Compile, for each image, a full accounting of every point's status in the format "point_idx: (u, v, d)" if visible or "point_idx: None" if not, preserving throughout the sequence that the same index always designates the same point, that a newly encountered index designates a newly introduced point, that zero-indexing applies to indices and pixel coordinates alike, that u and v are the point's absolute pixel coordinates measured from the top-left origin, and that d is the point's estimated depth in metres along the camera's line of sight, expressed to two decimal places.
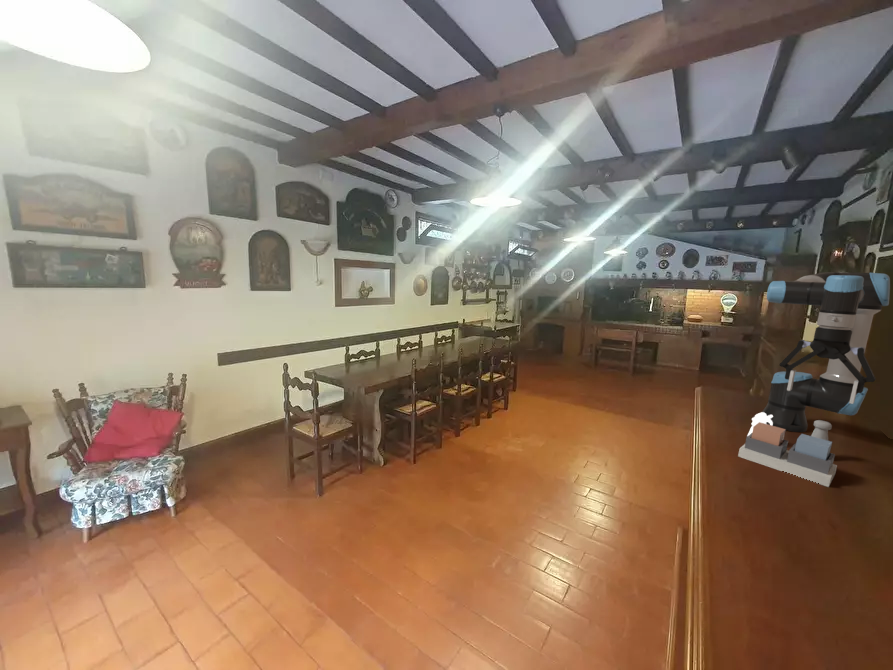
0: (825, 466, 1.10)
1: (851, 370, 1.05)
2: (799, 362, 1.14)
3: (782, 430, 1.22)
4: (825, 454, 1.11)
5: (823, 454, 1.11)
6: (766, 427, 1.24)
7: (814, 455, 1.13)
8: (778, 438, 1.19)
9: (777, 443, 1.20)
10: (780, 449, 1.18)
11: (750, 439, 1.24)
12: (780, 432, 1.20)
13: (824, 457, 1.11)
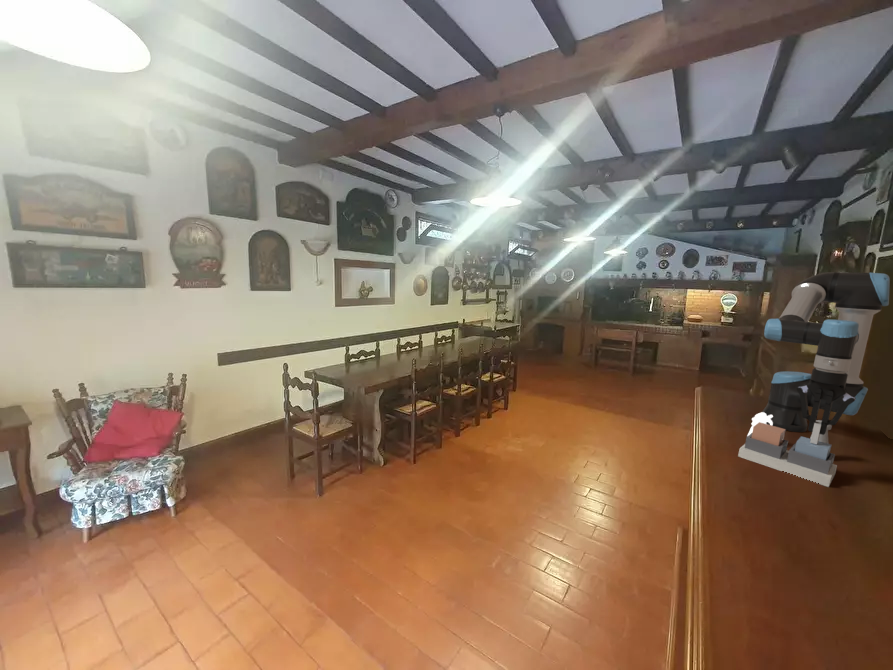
0: (825, 466, 1.10)
1: (825, 412, 1.12)
2: (815, 411, 1.13)
3: (782, 430, 1.22)
4: (824, 457, 1.11)
5: (823, 457, 1.11)
6: (766, 427, 1.24)
7: None
8: (778, 438, 1.19)
9: (777, 443, 1.20)
10: (780, 449, 1.18)
11: (750, 439, 1.24)
12: (780, 432, 1.20)
13: None
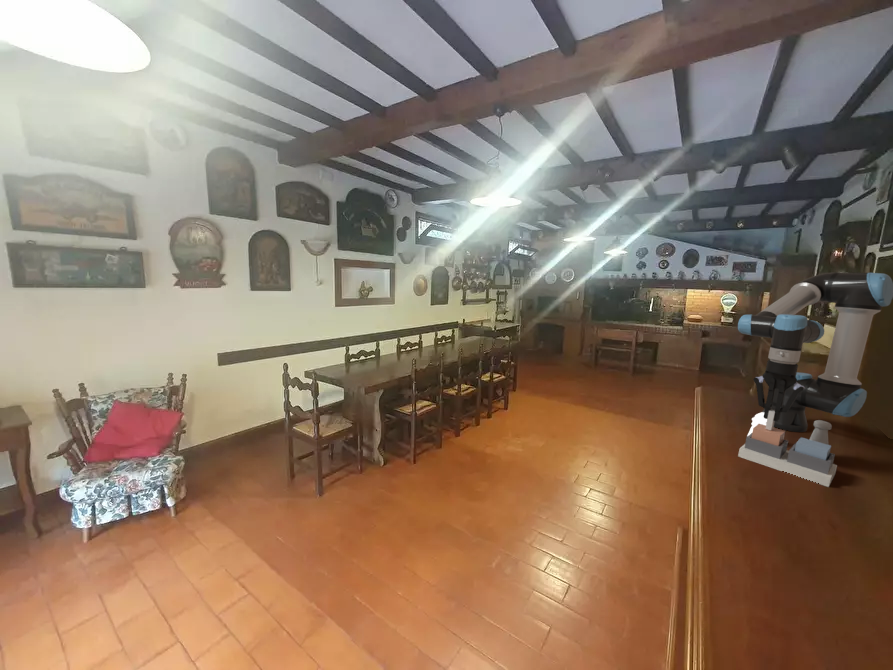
0: (825, 466, 1.10)
1: (778, 400, 1.20)
2: (769, 399, 1.22)
3: (782, 431, 1.22)
4: (824, 458, 1.11)
5: (822, 458, 1.11)
6: (766, 429, 1.24)
7: None
8: (778, 440, 1.19)
9: (777, 445, 1.20)
10: (780, 449, 1.18)
11: (750, 439, 1.24)
12: (780, 434, 1.20)
13: None
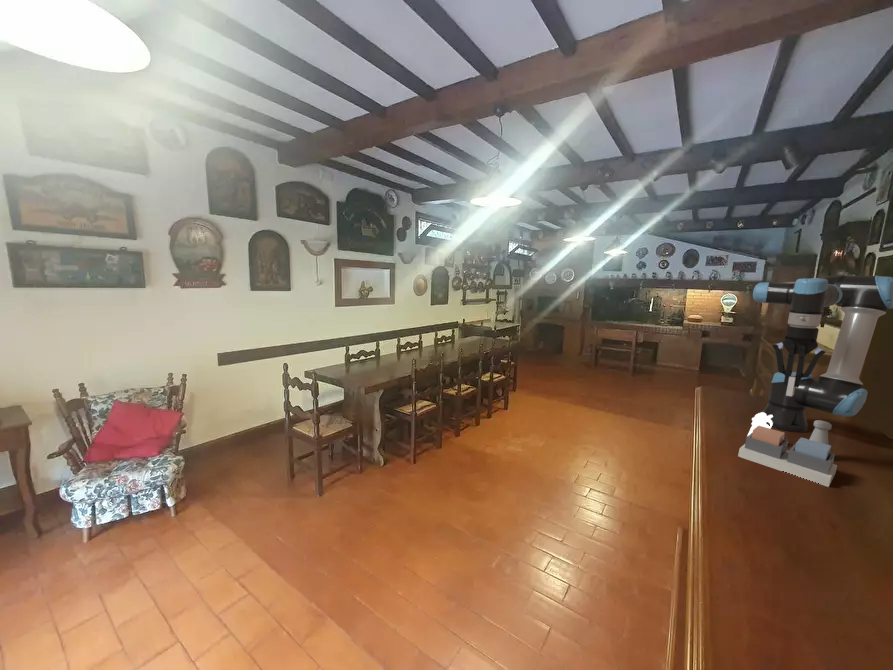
0: (825, 466, 1.10)
1: (798, 366, 1.19)
2: (789, 365, 1.21)
3: (781, 434, 1.22)
4: (824, 458, 1.11)
5: (822, 458, 1.11)
6: (765, 431, 1.24)
7: None
8: (777, 442, 1.19)
9: None
10: (780, 449, 1.18)
11: (750, 439, 1.24)
12: (779, 436, 1.20)
13: None
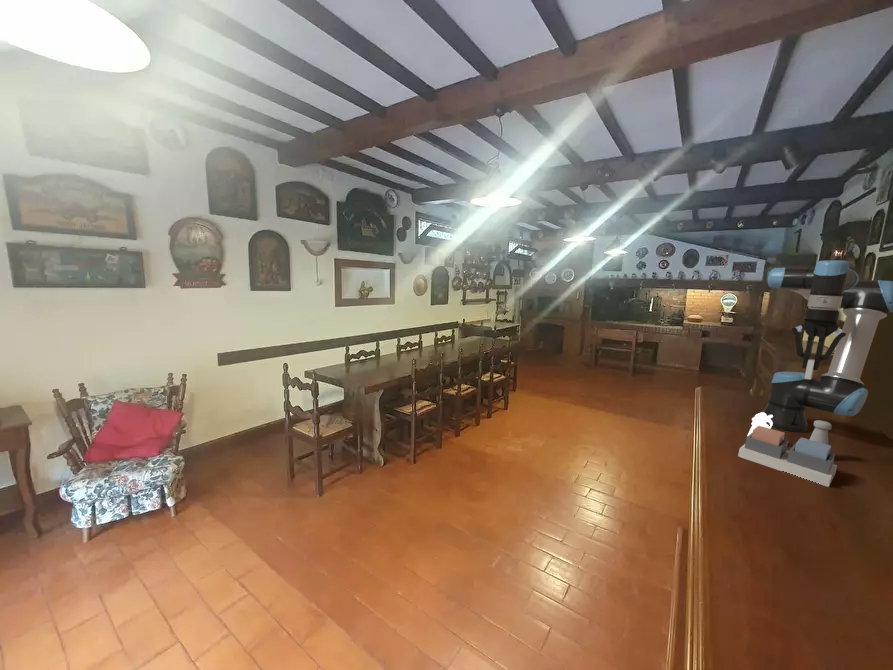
0: (825, 466, 1.10)
1: (818, 349, 1.19)
2: (808, 348, 1.21)
3: (781, 434, 1.22)
4: (824, 458, 1.11)
5: (822, 458, 1.11)
6: (765, 431, 1.24)
7: None
8: (777, 442, 1.19)
9: None
10: (780, 449, 1.18)
11: (750, 439, 1.24)
12: (779, 436, 1.20)
13: None
